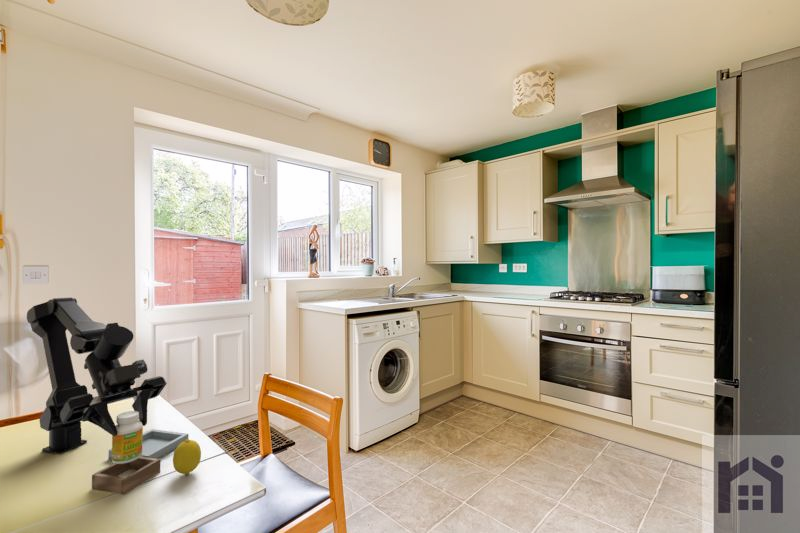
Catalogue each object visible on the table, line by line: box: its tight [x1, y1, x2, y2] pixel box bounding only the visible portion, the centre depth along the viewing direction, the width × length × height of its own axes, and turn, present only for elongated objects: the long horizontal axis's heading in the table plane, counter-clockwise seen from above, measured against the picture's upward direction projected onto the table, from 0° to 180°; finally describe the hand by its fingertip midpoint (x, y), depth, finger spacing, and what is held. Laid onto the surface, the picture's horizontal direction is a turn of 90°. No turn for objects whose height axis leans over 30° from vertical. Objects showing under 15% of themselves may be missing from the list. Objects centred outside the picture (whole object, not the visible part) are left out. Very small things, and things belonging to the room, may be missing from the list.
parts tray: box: [108, 428, 189, 461], centre depth 93 cm, size 12×12×2 cm
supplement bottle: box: [111, 410, 144, 464], centre depth 80 cm, size 5×5×10 cm
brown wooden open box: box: [91, 456, 161, 496], centre depth 80 cm, size 9×9×3 cm
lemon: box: [172, 438, 202, 476], centre depth 82 cm, size 6×6×8 cm
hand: (131, 429), depth 80 cm, fingers closed on supplement bottle, 5 cm apart
